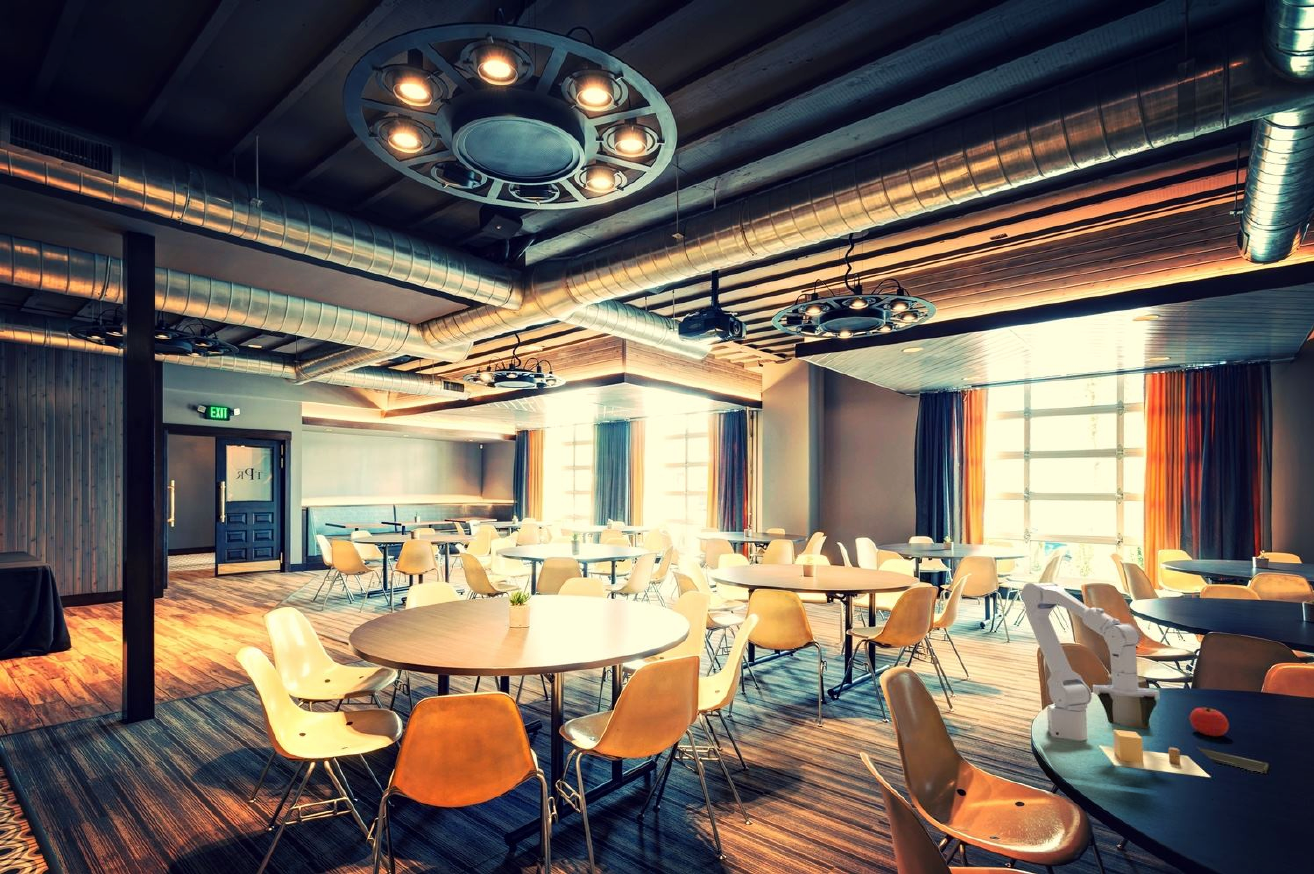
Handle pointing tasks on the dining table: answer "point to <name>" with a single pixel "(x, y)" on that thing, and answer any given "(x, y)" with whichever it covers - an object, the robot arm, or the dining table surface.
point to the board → (1159, 762)
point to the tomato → (1209, 721)
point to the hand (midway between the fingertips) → (1127, 724)
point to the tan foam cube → (1128, 746)
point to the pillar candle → (1128, 707)
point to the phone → (1235, 760)
